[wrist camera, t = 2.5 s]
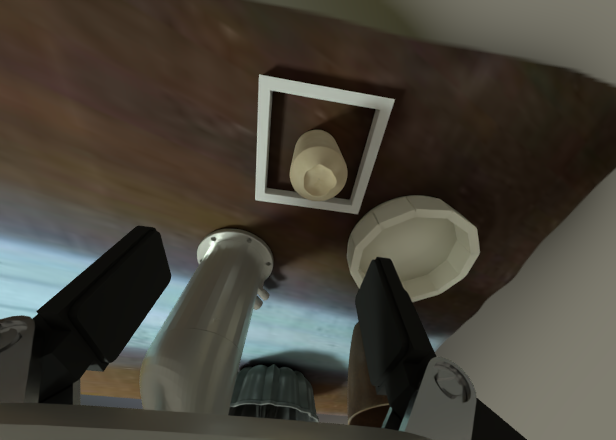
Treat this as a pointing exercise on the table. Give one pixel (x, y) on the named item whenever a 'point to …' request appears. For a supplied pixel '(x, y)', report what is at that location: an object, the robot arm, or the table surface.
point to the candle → (317, 166)
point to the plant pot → (363, 389)
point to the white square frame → (324, 93)
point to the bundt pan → (273, 394)
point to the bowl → (415, 244)
